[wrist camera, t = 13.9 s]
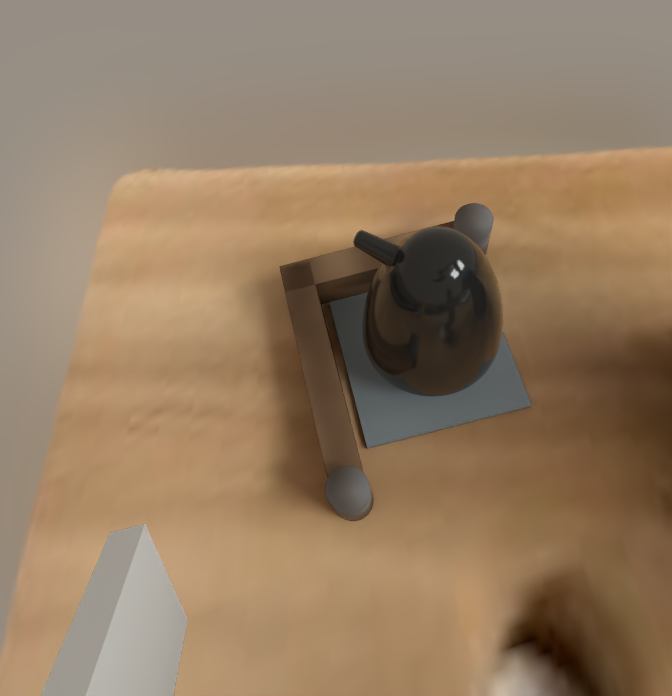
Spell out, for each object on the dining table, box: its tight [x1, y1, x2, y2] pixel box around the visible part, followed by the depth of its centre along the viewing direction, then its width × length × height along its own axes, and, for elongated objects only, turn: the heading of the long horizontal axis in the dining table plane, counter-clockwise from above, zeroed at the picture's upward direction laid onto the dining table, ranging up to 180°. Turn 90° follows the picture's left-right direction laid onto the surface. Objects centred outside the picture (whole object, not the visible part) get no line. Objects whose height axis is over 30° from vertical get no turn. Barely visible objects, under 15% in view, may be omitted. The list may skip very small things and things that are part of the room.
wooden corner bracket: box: [280, 203, 493, 521], centre depth 45 cm, size 18×21×5 cm
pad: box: [329, 292, 532, 449], centre depth 48 cm, size 13×13×1 cm
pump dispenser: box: [353, 227, 503, 397], centre depth 41 cm, size 10×10×15 cm
